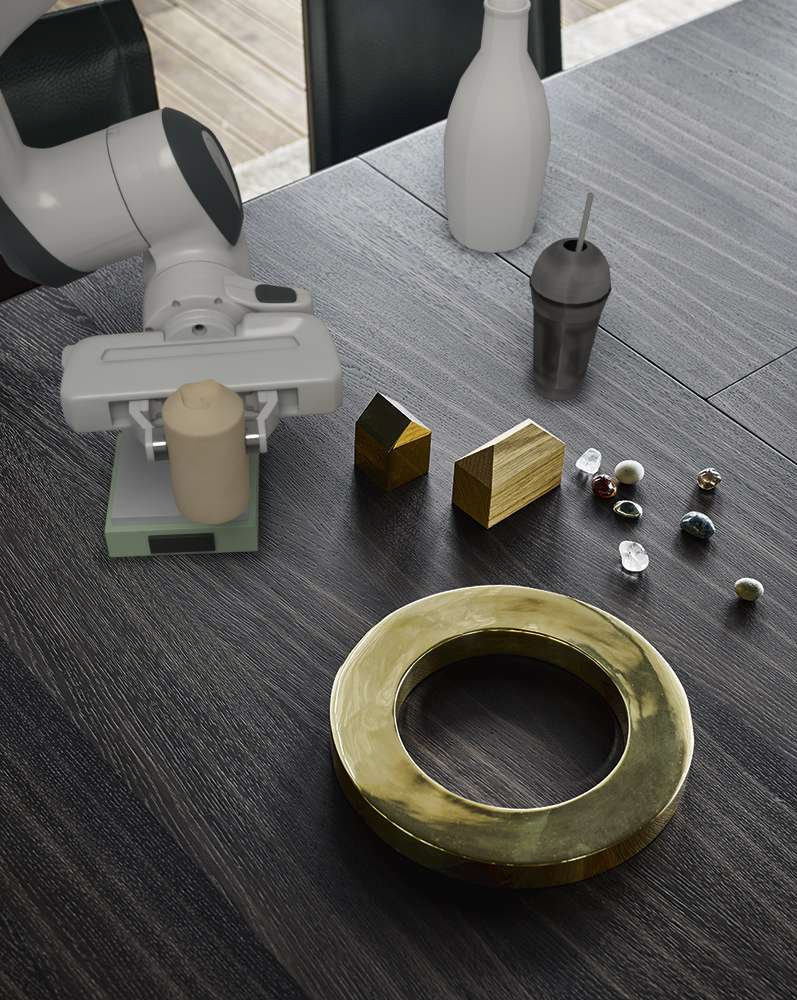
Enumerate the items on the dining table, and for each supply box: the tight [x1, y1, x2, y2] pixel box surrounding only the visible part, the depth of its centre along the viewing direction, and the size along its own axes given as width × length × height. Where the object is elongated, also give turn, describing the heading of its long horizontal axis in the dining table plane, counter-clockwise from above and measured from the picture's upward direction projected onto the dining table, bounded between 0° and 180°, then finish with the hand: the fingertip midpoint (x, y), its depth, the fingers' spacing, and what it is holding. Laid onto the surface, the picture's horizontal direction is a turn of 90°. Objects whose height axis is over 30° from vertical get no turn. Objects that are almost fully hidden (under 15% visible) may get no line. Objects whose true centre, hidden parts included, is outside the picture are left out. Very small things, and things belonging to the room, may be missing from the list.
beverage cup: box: [528, 191, 612, 402], centre depth 112 cm, size 7×7×20 cm
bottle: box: [443, 0, 552, 254], centre depth 129 cm, size 11×11×25 cm
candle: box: [162, 379, 251, 524], centre depth 88 cm, size 6×6×10 cm
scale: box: [103, 429, 260, 558], centre depth 105 cm, size 12×12×4 cm
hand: (207, 450), depth 87 cm, fingers closed on candle, 5 cm apart
